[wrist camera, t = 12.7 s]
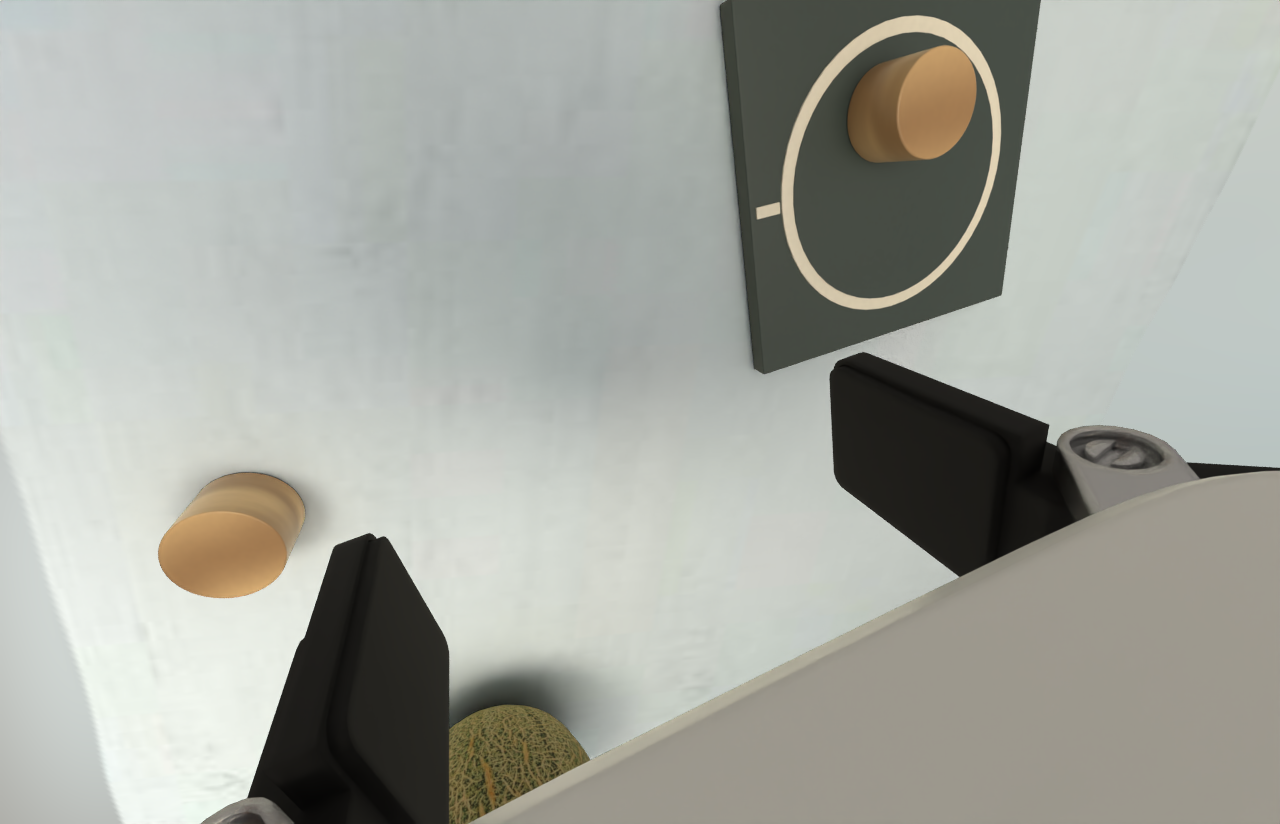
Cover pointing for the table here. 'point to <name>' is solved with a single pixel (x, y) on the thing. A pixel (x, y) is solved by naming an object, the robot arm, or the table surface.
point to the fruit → (505, 758)
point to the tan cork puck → (912, 106)
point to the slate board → (867, 169)
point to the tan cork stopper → (233, 536)
